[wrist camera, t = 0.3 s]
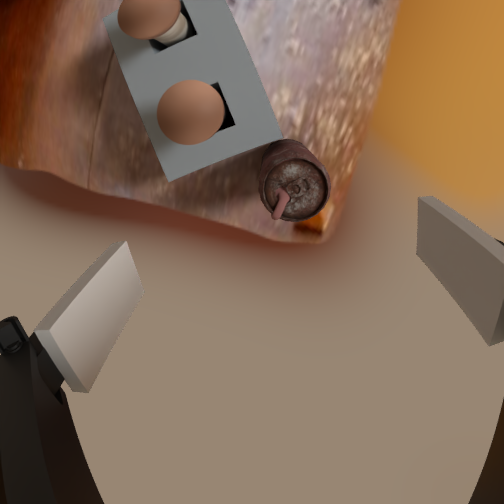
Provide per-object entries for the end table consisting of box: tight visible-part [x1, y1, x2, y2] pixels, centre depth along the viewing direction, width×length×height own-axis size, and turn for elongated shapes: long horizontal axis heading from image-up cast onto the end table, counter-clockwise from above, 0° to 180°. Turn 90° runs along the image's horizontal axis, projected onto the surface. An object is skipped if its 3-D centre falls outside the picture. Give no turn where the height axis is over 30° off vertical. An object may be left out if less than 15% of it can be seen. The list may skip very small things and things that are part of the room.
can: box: [259, 139, 331, 222], centre depth 32 cm, size 6×6×14 cm
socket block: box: [103, 0, 283, 182], centre depth 30 cm, size 20×12×9 cm, turn 21°
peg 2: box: [157, 80, 228, 145], centre depth 27 cm, size 5×5×10 cm
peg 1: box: [117, 0, 195, 47], centre depth 23 cm, size 5×5×10 cm
